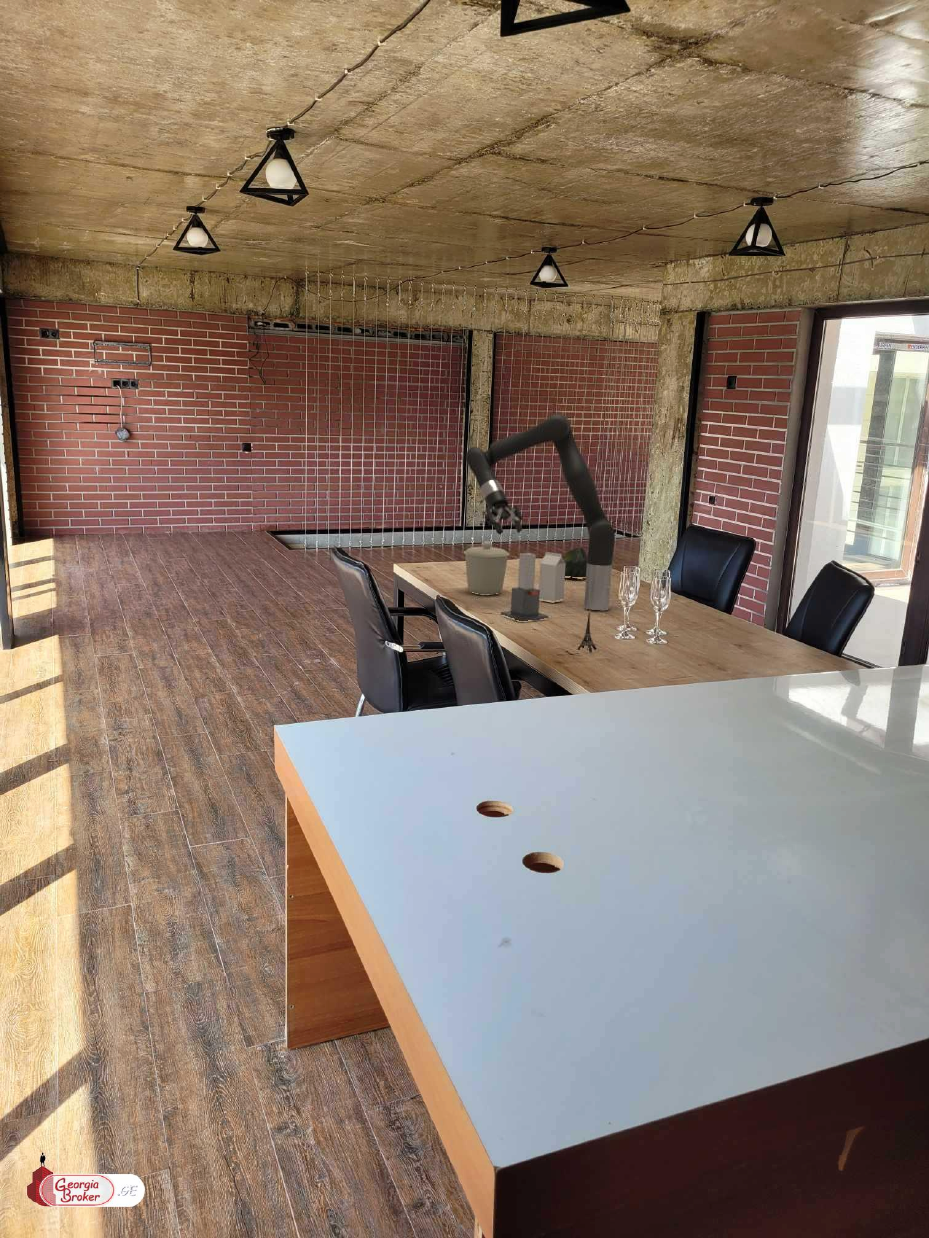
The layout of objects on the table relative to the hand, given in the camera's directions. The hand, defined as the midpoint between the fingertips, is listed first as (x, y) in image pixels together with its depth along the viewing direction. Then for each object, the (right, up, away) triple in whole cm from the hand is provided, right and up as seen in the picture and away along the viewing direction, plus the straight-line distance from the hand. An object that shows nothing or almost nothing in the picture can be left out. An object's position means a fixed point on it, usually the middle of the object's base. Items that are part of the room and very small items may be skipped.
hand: (510, 532), depth 333 cm
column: (+5, -24, -6) cm, 25 cm away
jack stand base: (+5, -31, -4) cm, 31 cm away
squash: (+32, -14, +78) cm, 85 cm away
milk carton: (+17, -25, +26) cm, 40 cm away
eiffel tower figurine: (+21, -41, -45) cm, 65 cm away
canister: (-8, -21, +37) cm, 43 cm away
